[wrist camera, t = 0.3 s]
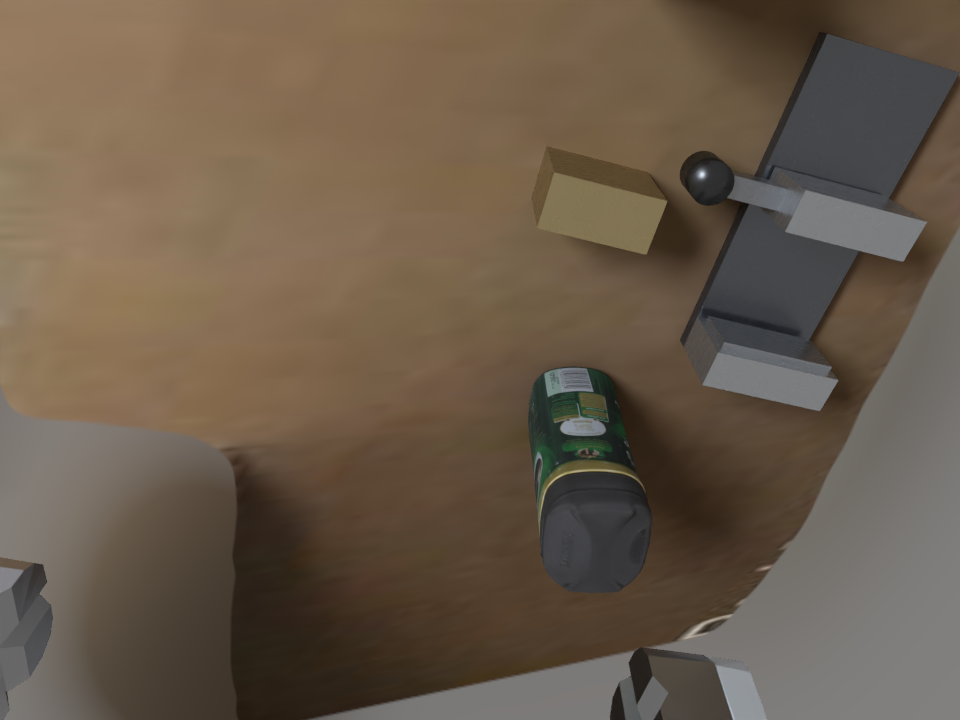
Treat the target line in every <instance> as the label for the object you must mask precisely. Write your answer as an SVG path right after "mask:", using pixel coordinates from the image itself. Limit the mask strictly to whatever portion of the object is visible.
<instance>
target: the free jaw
mask: <svg viewBox="0 0 960 720" xmlns="http://www.w3.org/2000/svg"><path fill="white" fill-rule="evenodd" d="M680 180H681V183H682V185H683V186H684V187H685V188H686V190H687V191H688V192H689V193H690V194H691V196H692V197H693V198H694V199H695V200H696V201H697V202H698V203H700V204H702V205H715V204H718V203H720V202H722V201H724V200H725V199H726V198H729V199H733V200H737V201H741V202H745V203H748V204H752V205H756V206H759V207H760V208H761V209H762V210H763V211H764V212H765V213H766V214H767V215H768V216H769V217H770V218H771V219H772V220H773V221H774V222H775V223H776V224H777V225H778V226H779V227H780V228H782V229H783V230H784V231H785V232H787V233H791V234H795V235H799V236H803V237H807V238H811V239H815V240H819V241H823V242H827V243H831V244H835V245H839V246H843V247H846V248H850V249H854V250H858V251H862V252H866V253H870V254H874V255H878V256H882V257H886V258H890V259H894V260H898V261H902V262H903V261H904V260H905V258H906V256H907V255H908V253H909V251H910V250H911V248H912V246H913V245H914V243H915V241H916V240H917V238H918V236H919V235H920V233H921V231H922V230H923V228H924V226H925V225H926V223H927V222H926V221H925V220H923V219H922V218H920V217H918V216H917V215H915V214H914V213H912V212H910V211H909V210H907V209H906V208H904V207H902V206H901V205H899V204H898V203H896V202H894V201H893V200H891V199H890V198H888V197H886V196H883V195H880V194H876V193H872V192H868V191H864V190H861V189H857V188H853V187H849V186H846V185H842V184H838V183H834V182H831V181H827V180H823V179H819V178H816V177H812V176H808V175H804V174H800V173H797V172H793V171H789V170H785V169H782V168H778V167H775V169H774V171H773V173H772V175H771V177H770V179H769V180H767V179H763V178H760V177H756V176H752V175H748V174H744V173H740V172H737V171H733V170H731V169H730V168H729V167H728V166H727V165H726V164H725V163H724V162H723V161H722V160H721V159H720V158H718V157H717V156H716V155H715V154H713V153H711V152H708V151H700V152H697V153H694V154H692V155H691V156H689V157H688V158H687V159H686V160H685V162H684V163H683V165H682V167H681V170H680Z"/></svg>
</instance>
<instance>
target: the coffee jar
mask: <svg viewBox="0 0 960 720" xmlns="http://www.w3.org/2000/svg"><path fill="white" fill-rule="evenodd" d="M529 435H530V445H531V453H532V461H533V471H534V482H535V492H536V502H537V514H538V524H539V534H540V546H541V552H540V554H541V556H542V558H543V563H544V566H545V569H546V571H547V573H548V574H549V576H550V577H551V578H552V579H553V580H554V581H555V582H556V583H558V584H559V585H560V586H562V587H564V588H565V589H566V590H567V591H573V592H587V593H605V592H619V591H620V590H621V589H622V588H623V587H625V586H626V585H628V584H629V583H630V582H632V581H633V580H634V579H635V578H636V577H637V576H638V574H639V573H640V572H641V570H642V568H643V565H644V563H645V559H646V555H647V551H648V547H649V543H650V535H651V524H652V517H651V511H650V508H649V505H648V501H647V497H646V492H645V489H644V486H643V484H642V482H641V481H640V479H639V477H638V475H637V472H636V469H635V465H634V462H633V458H632V455H631V451H630V447H629V444H628V440H627V437H626V433H625V429H624V425H623V421H622V417H621V413H620V409H619V404H618V400H617V397H616V393H615V389H614V386H613V383H612V381H611V380H610V378H609V377H608V376H607V375H605V374H604V373H602V372H600V371H598V370H594V369H590V368H583V367H563V368H557V369H553V370H550V371H547V372H545V373H543V374H542V375H541V376H540V377H539V378H538V379H537V380H536V382H535V383H534V386H533V389H532V392H531V398H530V403H529Z"/></svg>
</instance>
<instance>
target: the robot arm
mask: <svg viewBox="0 0 960 720" xmlns="http://www.w3.org/2000/svg"><path fill="white" fill-rule="evenodd" d="M46 583H47V579H46V575H45V571H44V567H43V565H42V564H36V563H30V562H24V561H18V560H12V559H6V558H0V720H3V719H4V718H5V716H6V715H7V713H8V712H9V703H8V695H7V692H8V691H9V690H11V689H13V688H14V687H16V686H17V685H19V684H20V683H22V682H24V681H25V680H27V679H28V678H29V677H30V676H31V675H32V673H33V671H34V670H35V668H36V666H37V665H38V663H39V661H40V660H41V658H42V656H43V654H44V651H45V648H46V646H47V643H48V640H49V637H50V634H51V628H52V620H53V616H52V609H51V604H49V603H48V602H47V601H46V600H45V599H44V598H43V597H42V596H41V595H40V594H39V593H40V592H41V590H42V588H43V587H44V586H45V584H46ZM629 667H630V672H631V676H629V677H628V678H626V679H624V680H622V681H620V682H619V684H618V687H617V689H616V691H615V693H614V696H613V699H612V706H611V713H610V720H768V719H767V717H766V714H765V711H764V709H763V706H762V703H761V701H760V698H759V695H758V693H757V690H756V687H755V685H754V682H753V679H752V676H751V674H750V671H749V669H748V668H747V666H746V665H745V664H744V663H743V662H741V661H736V660H729V659H721V658H713V657H706V656H704V655H697V654H690V653H682V652H674V651H666V650H658V649H650V648H642V647H640V648H639V649H637V650H636V651H634V653H633V655H632V657H631V659H630V661H629Z"/></svg>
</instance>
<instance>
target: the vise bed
mask: <svg viewBox="0 0 960 720" xmlns="http://www.w3.org/2000/svg"><path fill="white" fill-rule="evenodd" d="M958 75H959V72H956V71H952V70H949V69H946V68H942V67H939V66H935V65H932V64H928V63H925V62H922V61H918V60H915V59H911V58H908V57H905V56H901V55H898V54H894V53H891V52H887V51H884V50H881V49H877V48H874V47H870V46H867V45H863V44H860V43H857V42H853V41H850V40H846V39H843V38H839V37H836V36H833V35H829V34H826V33H822V32H820V33H819V36H818V38H817V40H816V42H815V44H814V47H813V49H812V51H811V53H810V55H809V58H808V60H807V62H806V64H805V66H804V69H803V71H802V73H801V75H800V77H799V80H798V82H797V84H796V86H795V88H794V91H793V93H792V95H791V97H790V99H789V102H788V104H787V106H786V108H785V110H784V113H783V115H782V117H781V119H780V121H779V124H778V126H777V128H776V130H775V132H774V135H773V137H772V139H771V141H770V143H769V146H768V148H767V150H766V152H765V154H764V157H763V159H762V161H761V163H760V165H759V168H758V170H757V172H756V174H755V176H756V177H760V178H763V179H767V180H769V179H770V177H771V175H772V173H773V171H774V169H775V167H778V168H782V169H785V170H789V171H793V172H797V173H800V174H804V175H808V176H812V177H816V178H819V179H823V180H827V181H831V182H834V183H838V184H842V185H846V186H849V187H853V188H857V189H861V190H864V191H868V192H872V193H876V194H880V195H883V196H886V197H888V198H889V197H890V195H891V194H892V192H893V190H894V188H895V187H896V185H897V183H898V181H899V179H900V178H901V176H902V174H903V172H904V171H905V169H906V167H907V165H908V163H909V162H910V160H911V158H912V156H913V155H914V153H915V151H916V149H917V147H918V146H919V144H920V142H921V140H922V139H923V137H924V135H925V133H926V132H927V130H928V128H929V126H930V124H931V123H932V121H933V119H934V117H935V116H936V114H937V112H938V110H939V108H940V107H941V105H942V103H943V101H944V100H945V98H946V96H947V94H948V92H949V91H950V89H951V87H952V85H953V84H954V82H955V80H956V78H957V76H958ZM858 252H859V251H858V250H854V249H850V248H846V247H843V246H839V245H835V244H831V243H827V242H823V241H819V240H815V239H811V238H807V237H803V236H799V235H795V234H791V233H787V232H785V231H784V230H783V229H782V228H780V227H779V226H778V225H777V224H776V223H775V222H774V221H773V220H772V219H771V218H770V217H769V216H768V215H767V214H766V213H765V212H764V211H763V210H762V209H761V208H760V207H759V206H756V205H752V204H748V203H745V202H743V203H742V205H741V207H740V209H739V212H738V214H737V216H736V218H735V221H734V223H733V225H732V227H731V229H730V232H729V234H728V236H727V238H726V240H725V243H724V245H723V247H722V249H721V251H720V254H719V256H718V258H717V260H716V262H715V265H714V267H713V269H712V271H711V273H710V276H709V278H708V280H707V282H706V284H705V287H704V289H703V291H702V293H701V295H700V298H699V300H698V302H697V304H696V306H695V309H694V311H693V313H692V315H691V317H690V320H689V322H688V324H687V326H686V328H685V331H684V333H683V335H682V337H681V339H680V341H681V343H682V345H683V347H684V349H685V351H686V353H687V355H688V357H689V359H690V361H691V363H692V365H693V367H694V369H695V371H696V373H697V375H698V377H699V379H700V381H701V383H702V385H705V386H709V387H714V388H718V389H723V390H727V391H732V392H736V393H741V394H745V395H750V396H754V397H759V398H763V399H767V400H772V401H776V402H781V403H785V404H790V405H794V406H799V407H803V408H808V409H812V410H817V411H820V410H821V408H822V407H823V405H824V403H825V402H826V400H827V398H828V397H829V395H830V394H831V392H832V390H833V389H834V387H835V385H836V384H837V382H838V379H837V378H836V376H835V375H834V374H833V373H832V372H831V368H832V366H831V365H830V364H829V363H828V361H827V360H826V359H825V358H824V357H823V355H822V354H821V353H820V352H819V350H818V349H817V348H816V347H815V346H814V344H813V343H812V342H811V341H810V340H809V339H810V338H811V336H812V334H813V332H814V331H815V329H816V327H817V325H818V323H819V322H820V320H821V318H822V316H823V315H824V313H825V311H826V309H827V307H828V306H829V304H830V302H831V300H832V299H833V297H834V295H835V293H836V291H837V290H838V288H839V286H840V284H841V283H842V281H843V279H844V277H845V275H846V274H847V272H848V270H849V268H850V267H851V265H852V263H853V261H854V259H855V258H856V256H857V254H858Z"/></svg>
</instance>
